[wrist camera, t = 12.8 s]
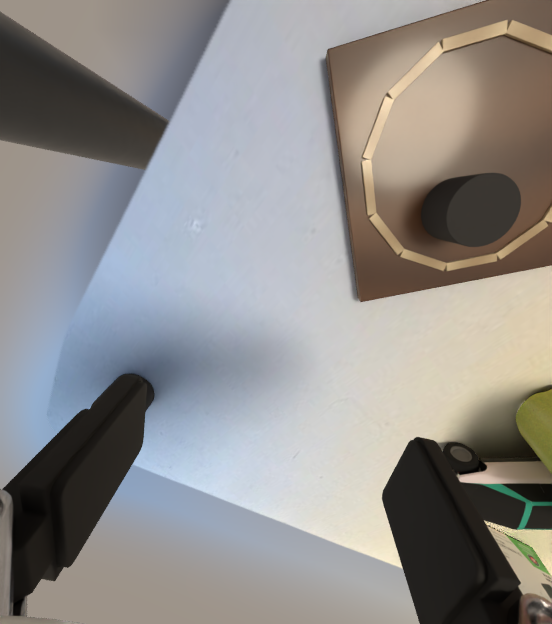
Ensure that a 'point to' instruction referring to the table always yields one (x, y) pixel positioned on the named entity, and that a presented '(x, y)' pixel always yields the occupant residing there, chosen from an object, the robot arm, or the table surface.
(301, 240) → the table surface
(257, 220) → the table surface
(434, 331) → the table surface
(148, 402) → the black cylinder
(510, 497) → the toy car
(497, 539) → the ink box
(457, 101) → the face board
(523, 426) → the plant pot
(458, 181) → the dot
